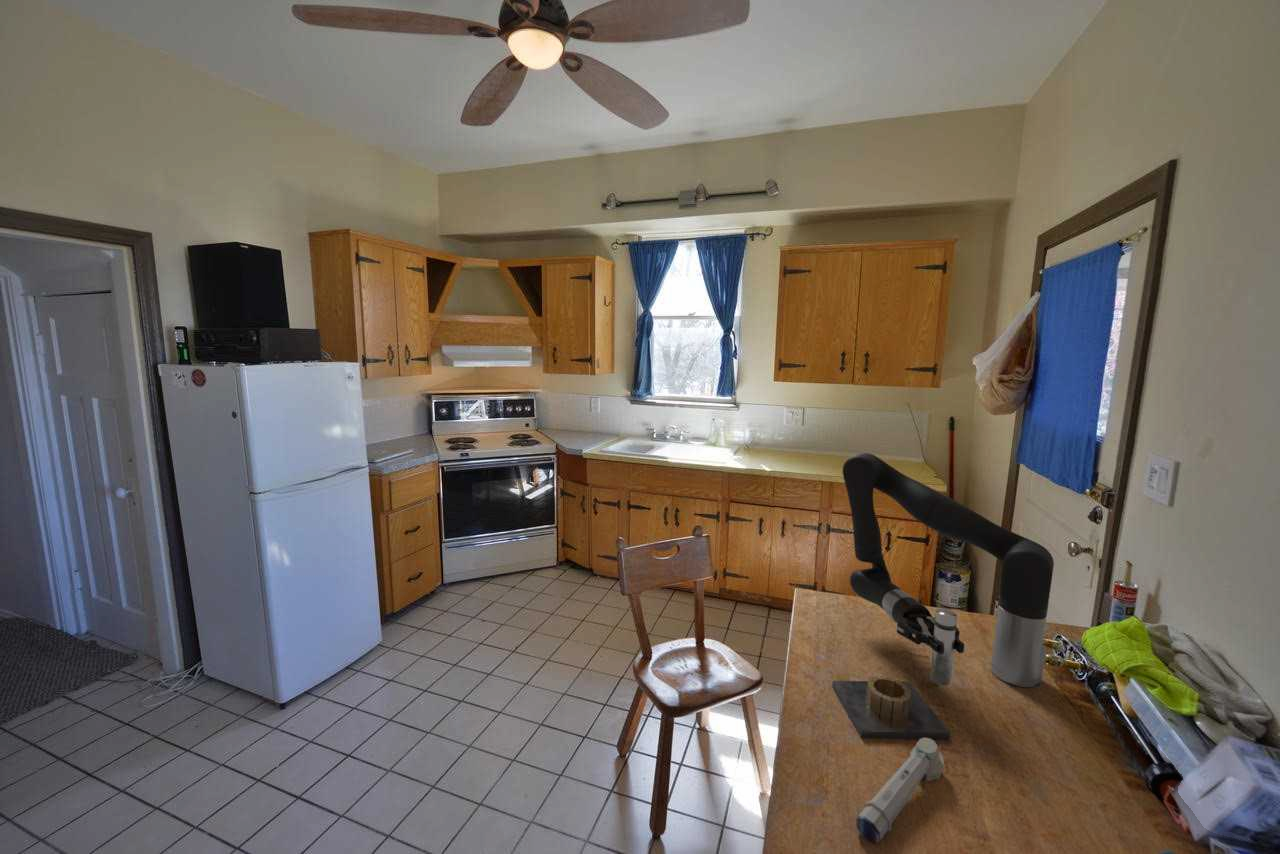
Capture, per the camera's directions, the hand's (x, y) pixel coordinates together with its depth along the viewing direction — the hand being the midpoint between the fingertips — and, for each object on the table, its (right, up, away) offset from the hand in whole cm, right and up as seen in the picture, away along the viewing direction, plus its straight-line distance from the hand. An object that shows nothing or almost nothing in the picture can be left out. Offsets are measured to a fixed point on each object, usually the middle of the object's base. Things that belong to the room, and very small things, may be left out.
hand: (952, 649), depth 111 cm
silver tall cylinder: (0, -9, +4) cm, 9 cm away
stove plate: (-14, -14, +1) cm, 20 cm away
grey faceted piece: (-22, -18, -21) cm, 35 cm away
